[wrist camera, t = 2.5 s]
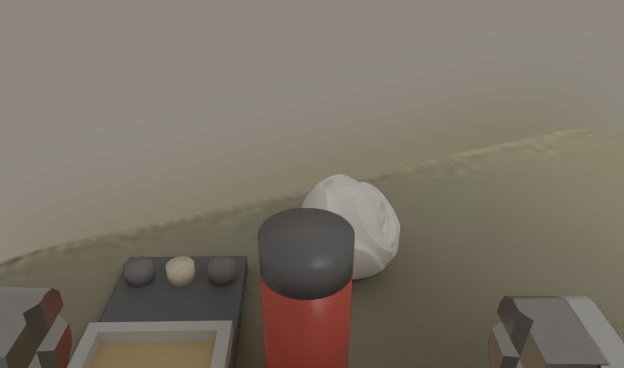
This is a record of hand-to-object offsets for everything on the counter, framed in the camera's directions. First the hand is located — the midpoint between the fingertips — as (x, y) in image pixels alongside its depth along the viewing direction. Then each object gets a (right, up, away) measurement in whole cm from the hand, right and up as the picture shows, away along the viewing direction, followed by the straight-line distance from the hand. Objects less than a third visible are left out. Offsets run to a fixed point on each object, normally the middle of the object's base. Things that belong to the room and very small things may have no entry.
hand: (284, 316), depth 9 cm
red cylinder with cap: (0, -10, +19) cm, 22 cm away
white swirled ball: (+3, -4, +30) cm, 31 cm away
